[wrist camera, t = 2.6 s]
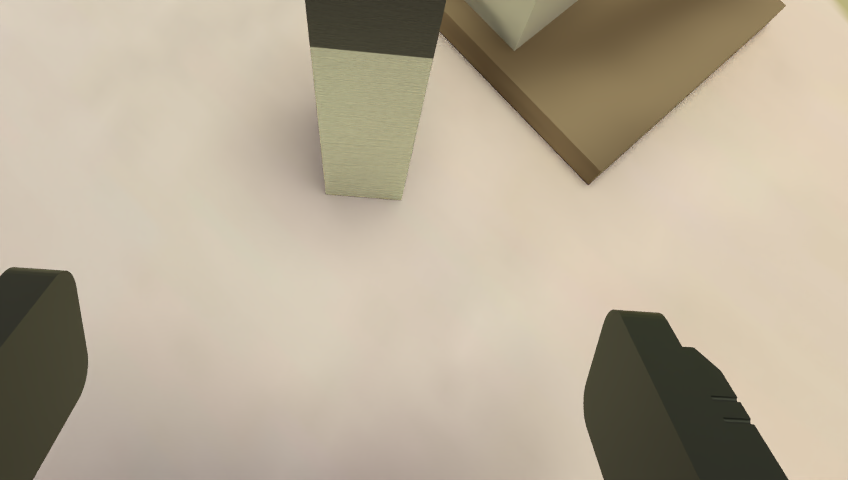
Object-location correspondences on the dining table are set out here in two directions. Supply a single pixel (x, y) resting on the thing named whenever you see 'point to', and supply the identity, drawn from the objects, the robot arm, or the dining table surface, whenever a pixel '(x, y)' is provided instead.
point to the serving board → (607, 66)
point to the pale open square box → (518, 17)
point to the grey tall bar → (370, 88)
